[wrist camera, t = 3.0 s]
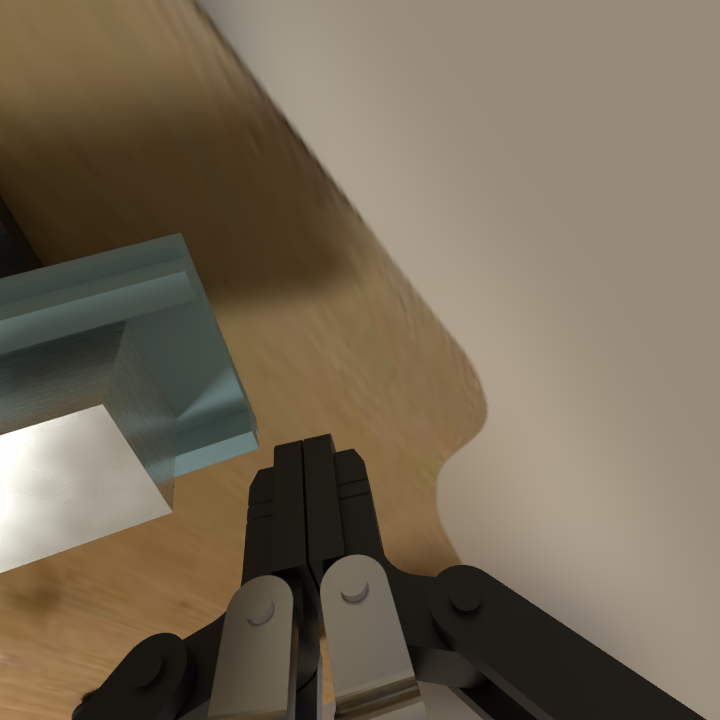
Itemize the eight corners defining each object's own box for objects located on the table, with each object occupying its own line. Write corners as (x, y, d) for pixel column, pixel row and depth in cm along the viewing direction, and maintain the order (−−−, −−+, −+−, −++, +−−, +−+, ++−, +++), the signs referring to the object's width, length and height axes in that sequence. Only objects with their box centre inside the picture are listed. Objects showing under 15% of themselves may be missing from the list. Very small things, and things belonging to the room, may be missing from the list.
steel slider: (-58, 373, 15) (-153, 482, 11) (126, 321, 16) (102, 404, 12) (23, 467, 18) (-29, 583, 13) (177, 417, 18) (172, 512, 14)
